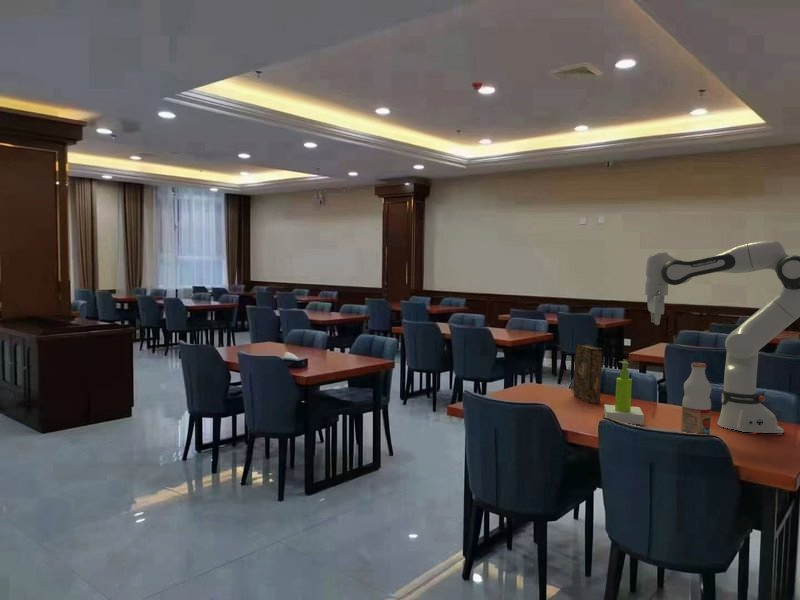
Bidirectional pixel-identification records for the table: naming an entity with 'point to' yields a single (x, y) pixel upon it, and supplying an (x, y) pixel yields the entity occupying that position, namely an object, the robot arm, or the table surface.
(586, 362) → the book
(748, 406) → the robot arm
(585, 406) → the table surface
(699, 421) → the fruit juice
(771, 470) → the table surface
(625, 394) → the soap dispenser
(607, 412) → the plinth
